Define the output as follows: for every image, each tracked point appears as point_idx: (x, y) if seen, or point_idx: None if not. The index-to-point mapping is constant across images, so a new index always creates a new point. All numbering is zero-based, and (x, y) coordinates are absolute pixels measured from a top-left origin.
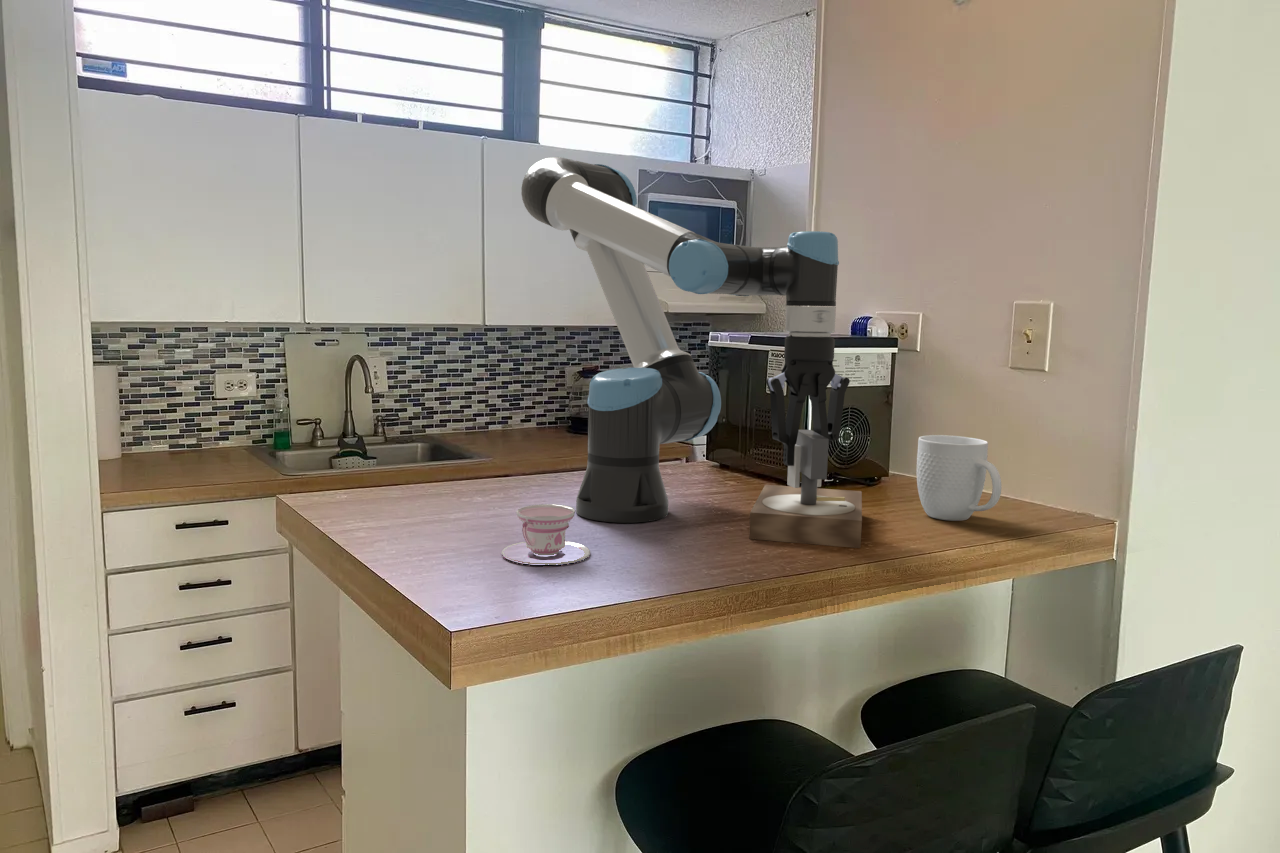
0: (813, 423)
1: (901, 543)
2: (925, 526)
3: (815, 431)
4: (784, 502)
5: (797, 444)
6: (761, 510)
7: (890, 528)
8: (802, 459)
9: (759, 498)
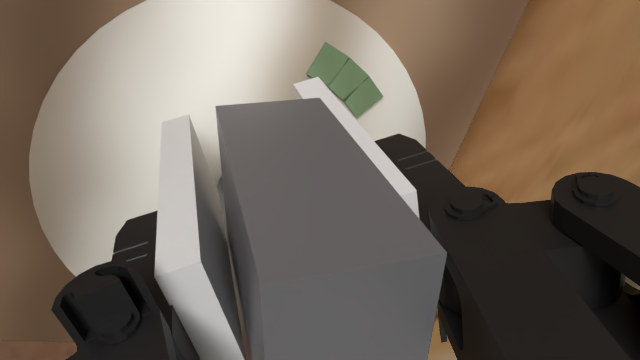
0: (498, 353)
1: None
2: (627, 43)
3: (462, 295)
4: (143, 180)
5: (242, 258)
6: (33, 305)
7: (516, 79)
8: (241, 329)
9: (7, 75)
